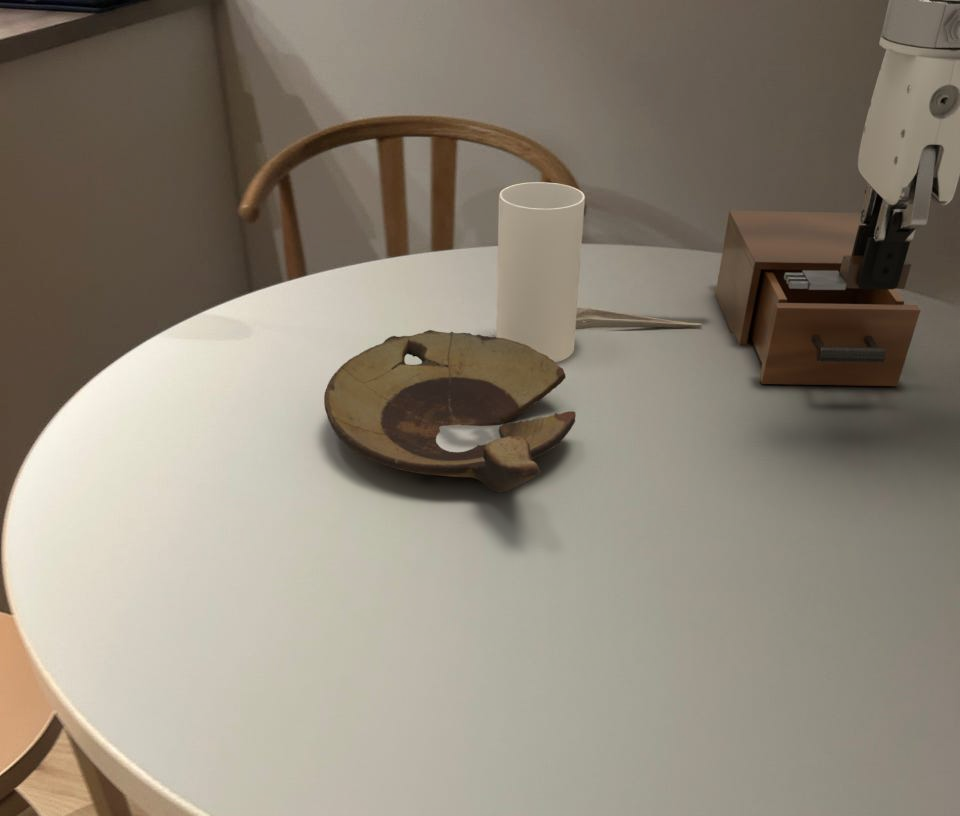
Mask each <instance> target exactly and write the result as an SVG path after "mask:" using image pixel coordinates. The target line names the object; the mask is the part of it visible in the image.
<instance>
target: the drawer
mask: <svg viewBox="0 0 960 816" xmlns="http://www.w3.org/2000/svg"><path fill="white" fill-rule="evenodd" d="M802 271H803V270H767V269H761V273H760V278H759V284H758V289H757V294H756V299H755V304H754V309H753V315H752V320H751V325H750V330H749V334H750V337H751V339H752V341H753V344H754V346H753V347H754V348H755V351H756V353H757V355H758V357H759V360H760V363H761V370H760V373H759V374H760V376H759V381H760V383H761V384H762V385H799V386H800V385H801V386H802V385H805V386H806V385H808V386H810V385H812V386H813V385H814V386H854V387H855V386H858V387H859V386H860V387H861V386H863V387H898V385H899V382H900V378H901V375H902V372H903V368H904V366H905V362H906V359H907V355H908V353H909V349H910V346H911V342H912V339H913V336H914V333H915V329H916V327H917V323H918V320H919V318H920V317H919V316H920V314H921V308H920V307H919V306H918V305H917V304H905V299H904V298H903V297H902V295H901V294H900V293H899V292H898V289H860V288H845V290H809V289H790V288H789V284H787V283H786V281H787V280H785V279H784V275H785V273H802ZM811 271H829V270H811ZM838 272H840V271H838Z"/></svg>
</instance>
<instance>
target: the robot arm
mask: <svg viewBox="0 0 960 816" xmlns="http://www.w3.org/2000/svg"><path fill="white" fill-rule="evenodd" d="M878 45H879V46H880V47H881V48H882V49H884V50H885V52H884V56H883V59H882V62H881V66H880V69H879V72H878V76H877V79H876V82H875V86H874V88H873V93H872V96H871V100H870V103H869V107H868V111H867V114H866V119H865V122H864V127H863V131H862V136H861V139H860V145H859V150H858V156H857V168H858V172H859V173H860V175H861V176H862V177H863V179H864V181H865V185H866V187H865V190H864V197H863V201H862V206H861V210H860V223H861V224H866V225H859V227H858V231H857V235H856V239H855V243H854V247H853V251H852V255H851V256H864V257H863V261H862V265H861V269H860V273H859V277H858V281H857V285H858V286H859V288H860V289H895V288H896V287H897V286H898V283H899V280H900V276H901V273H902V269H903V266H904V262H905V259H907V255H908V251H909V248H910V244H911V242H912V241H913V239H914V238H915V234H916V231H917V229H918V228H924V227H925V226H926V225H927V224H928V220H929V215H930V206H931V201H933V202H934V203H935V204H936V205H938V206H947V205H948V204H949V203H950V202H951V201H952V200H953V198H954V196H955V193H956V190H957V186H958V184H959V180H960V0H888V4H887V8H886V13H885V17H884V21H883V25H882V30H881V34H880V38H879V42H878ZM906 193H908V196H905V195H906Z"/></svg>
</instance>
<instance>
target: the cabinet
mask: <svg viewBox="0 0 960 816" xmlns="http://www.w3.org/2000/svg"><path fill="white" fill-rule="evenodd" d="M860 214H861V212H846V211H843V212H842V211H841V212H840V211H785V210H784V211H782V210H781V211H780V210H779V211H777V210H729V211H728V217H727V223H726V229H725V235H724V241H723V248H722V254H721V257H720V258H721V259H720V265H719V271H718V277H717V283H716V288H715V289H716V290H715V297H716V299H717V301H718V304H719V307H720V309H721V312H722V314H723V317H724V319H725V322H726V324H727V327H728V330H729V332H730V334H734V336H735V339H736V341H737V344H738V346H743V347H745V346H746V347H755V346H754V344H753V341H752V339H751V337H750V334H749V330H750V325H751V320H752V315H753V309H754V304H755V299H756V294H757V289H758V284H759V278H760V273H761V269H767V270H829V271H840V268H841V264H842V260H843V256H851V255H852V251H853V247H854V243H855V239H856V235H857V231H858V227H859V225H866V224H861V223H860Z"/></svg>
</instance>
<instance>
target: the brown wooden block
mask: <svg viewBox="0 0 960 816" xmlns="http://www.w3.org/2000/svg"><path fill="white" fill-rule="evenodd" d="M863 257H864V256H843V260H842V264H841V268H840V272H838V271H811V270H803V271H802V273H785V275H784V279H785V280H787V281H786V283H787V284H789V288H790V289H809V290H845V288H859V286H858V285H857V281H858V277H859V273H860V269H861V265H862V261H863ZM911 267H912V264H911V262H910V261H909V260H908V259H907V258H906V259H905V262H904V266H903V269H902V273H901V276H900V280H899V283H898V286H897V287H896V288H895V289H896V290H898V289H900V290H903V289H904V290H905V288H906V285H907V281H908V278H909V274H910V271H911Z"/></svg>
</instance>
